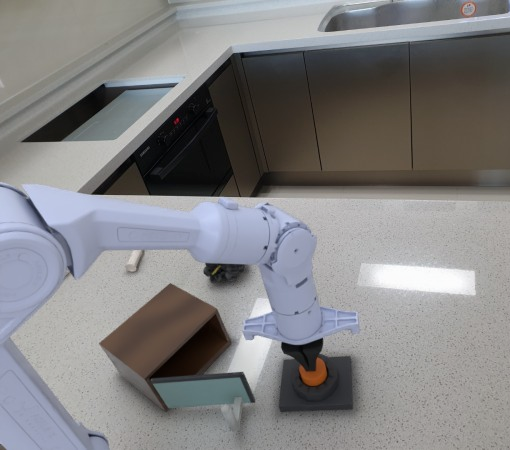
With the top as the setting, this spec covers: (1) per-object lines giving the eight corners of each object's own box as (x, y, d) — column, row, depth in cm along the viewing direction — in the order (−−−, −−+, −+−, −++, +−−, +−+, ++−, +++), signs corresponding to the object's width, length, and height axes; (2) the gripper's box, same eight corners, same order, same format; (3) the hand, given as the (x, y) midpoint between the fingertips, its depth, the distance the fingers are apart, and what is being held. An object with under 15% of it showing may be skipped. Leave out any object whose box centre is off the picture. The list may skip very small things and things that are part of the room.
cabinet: (232, 343, 74) (217, 308, 69) (166, 412, 67) (144, 378, 62) (186, 316, 81) (170, 282, 76) (121, 376, 73) (98, 343, 68)
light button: (300, 387, 63) (298, 379, 62) (302, 364, 66) (300, 357, 65) (326, 386, 62) (325, 378, 61) (327, 363, 65) (325, 355, 64)
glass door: (251, 434, 60) (238, 407, 56) (159, 440, 62) (140, 413, 58) (255, 399, 64) (243, 371, 60) (169, 405, 66) (151, 378, 62)
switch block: (280, 411, 64) (276, 399, 62) (285, 364, 69) (281, 352, 68) (352, 409, 62) (350, 397, 60) (351, 361, 68) (349, 348, 66)
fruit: (212, 205, 91) (198, 254, 79) (254, 210, 91) (247, 259, 79) (210, 239, 96) (197, 290, 84) (250, 243, 97) (243, 295, 84)
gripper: (353, 268, 56) (363, 338, 65) (239, 277, 59) (263, 343, 67) (355, 312, 51) (365, 382, 59) (229, 320, 53) (256, 387, 61)
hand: (311, 365), depth 63 cm, fingers closed
